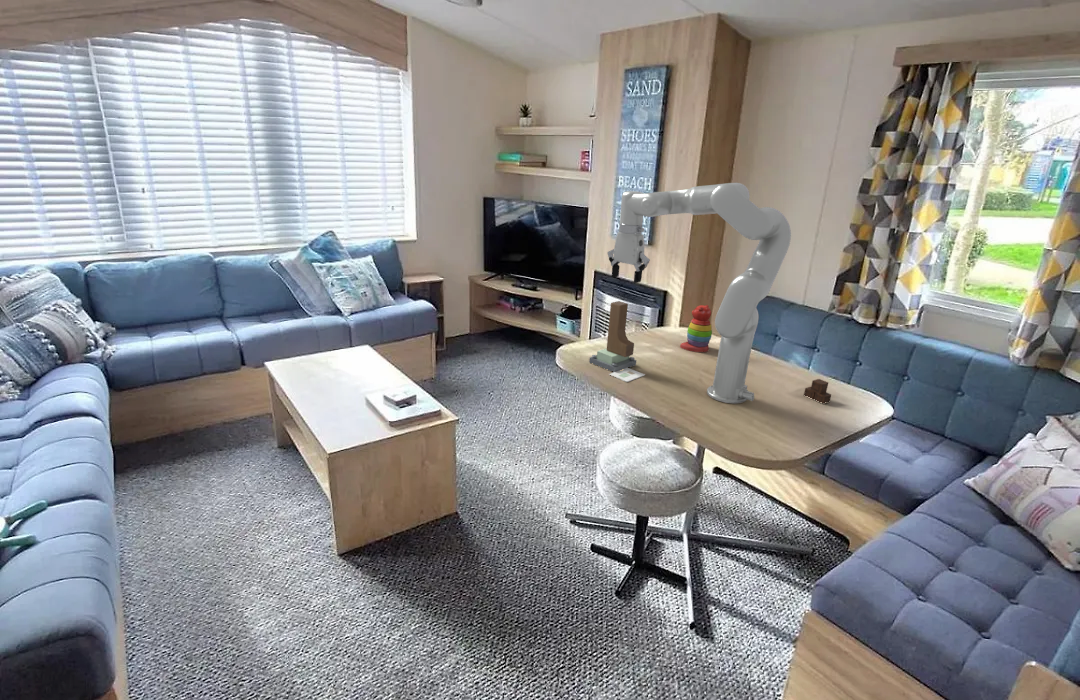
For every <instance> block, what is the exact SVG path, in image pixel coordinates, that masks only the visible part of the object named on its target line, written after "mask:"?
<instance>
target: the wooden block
mask: <svg viewBox="0 0 1080 700" xmlns="http://www.w3.org/2000/svg"><path fill="white" fill-rule="evenodd" d="M628 306H629V303H627V302H623V301H621V300H620V301H619V300H618V301H613V302H611V303H610V307H609V318H608V319H609V320H608V329H607V341H606V348H607V351H610V352H612V353H615V354H618V355H620V356H623V357H628V356H630V357H632V356H633V355H634V348H635V343H634V342H633V341H631V340H629V338H628V337H627V334H626V332H627V331H626V327H627V318H628Z"/></svg>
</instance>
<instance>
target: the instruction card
mask: <svg viewBox="0 0 1080 700" xmlns="http://www.w3.org/2000/svg"><path fill="white" fill-rule="evenodd" d="M610 375H611V377H613V376H614V377H613V378H615V377H616V379H618V380H621V381H623V382H625V383H628V382H631V381H634V380H636V379H639V378H642V377H644V376H645V375H646V374H645V373H643V372H639V371H637V370H635V369H632V368H631V367H630V368H625V369H624V370H623V371H620V370H619V371H616V372H611V373H608V376H610Z"/></svg>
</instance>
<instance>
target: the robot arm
mask: <svg viewBox="0 0 1080 700" xmlns="http://www.w3.org/2000/svg"><path fill="white" fill-rule="evenodd" d="M750 196H751V195H750V191H749V189H748V187H747V186H746V185H745V184H743V183H740V182H728V183H718V184H710V185H709V184H708V185H699V186H698V185H697V186H692V187H690V188H687V189H677V190H667V191H654V192H646V193H644V192H642V191H637V190H636V191H635V190H627V191H624V192H623V193H622V195H621V201H620V202H621V204H620V215H619V217H620V218H619V225H618V227H619V228H618V232H617V233H616V238H615V242H614V248H613V249H611V250H608V251H607V257H608V260H609V262H610V266H611V278H618V277H619V276H620V267H621V266H620V265H619V264H620V263H621V264H627V265H631V266H632V265H633V266H634V268H635V271H634V274H633V283H635V284H638V283H641V281H642V276H643V271H644V270H645V269H646V268H647V267H648V265H649V263H650V261H651V260H650V258H649V257H648V256H647V255H646V254H645V236H644V234H642V233H643V232H645V228H644V227H643V220H644V217H647V218H652V217H653V218H654V217H657V216H658V217H660V216H667V215H676V214H677V215H680V214H691V215H693V216H698V215H699V216H700V215H712V214H717V215H718V216H719V217H720V218H722V219H723V220H724V221H725V222H726V223H727V224H729V225H730V227H732V228H733V229H734V230H736V231H737V232H738V233H739V234H740V235H741V236H742V237H744V238H746V239H748V240H751V241H759V242H758V244H757V246H756V248H755V249H754V252H753V254H752V256H751V258H750V261H749V263H748V264H747V267H746V269H745V270H744V272H742V273H741V274H739V275H737V276H735V278H734V279H732V281H731V283H730V284H729V286H728V287H727V289H726V292H725V294H724V297H723V299H722V301H721V304H720V306H719V309H718V310H717V313H716V315H715V318H714V327H715V329H716V331H717V333H718V334H719V335H720V336H721V337H720V343H719V348H718V352H717V353H718V354H717V359H716V365H715V370H714V371H715V372H714V377H713V382H712V385H710V386H708V387H707V389H706V394H707V395H708V396H709V397H710V398H712V399H713V400H716V401H718V402H722V403H726V404H742V403H744V402H746V401H751V402H753V401H754V400H755V393H754V392H752V391H749V390H748V385H747V384H746V379H747V374H748V373H747V372H748V369H749V368H748V367H749V362H750V359H751V352H752V347H753V343H754V338H755V333H756V332H757V328H758V325H759V311H758V309H757V306H758V304H759V303H760V302H761V301H762V300H763V299H765V298H766V297H767V296H768V294H769V293H770V291H771V288H772V286H773V283H774V282H775V279H776V277H777V275H778V273H779V271H780V269H781V266H782V264H783V261H784V260H785V258H786V255H787V253H788V251H789V247H790V244H791V237H792V232H791V226H790V223H789V221H788V220H787V218H786V216H785V215H784V214H783V213H782V211H780V210H778V209H776V208H774V207H770V206H769V207H768V206H765V207H764V206H763V207H758V206H757V205H756V204H755V203H754V202H753V201H751V200H750Z"/></svg>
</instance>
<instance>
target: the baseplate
mask: <svg viewBox="0 0 1080 700" xmlns="http://www.w3.org/2000/svg"><path fill="white" fill-rule="evenodd" d="M596 352H597V353H596V354H592V355H591V356H590V357H589V361H588V362H590V363H589V364H591V363H593V364H592V365H594V364H595V365H594V366H596V365H598V366H597V367H599V366H600V368H601V367H603V368H602V369H604V368H605V369H604V370H606V369H608V370H607V371H609V370H610V371H609V372H611V371H613V372H616V371H619V370H622V369H625V368H628V367H630V368H632V367H635V366H636V365H637V360H636V359H635V357H633V356H628V357H623V356H620V355H618V354H615V353H612V352H610V351H607V347H606V348H603V349H600V350H597V351H596ZM631 366H632V367H631ZM613 372H612V373H613Z"/></svg>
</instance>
